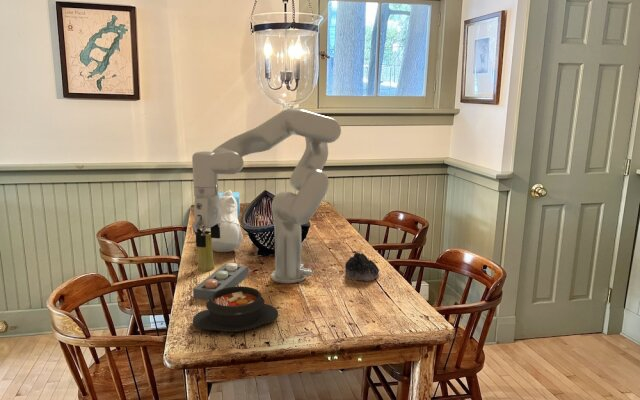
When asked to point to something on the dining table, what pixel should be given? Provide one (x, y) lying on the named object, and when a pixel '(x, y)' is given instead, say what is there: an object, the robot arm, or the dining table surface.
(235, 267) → the cream rounded piece
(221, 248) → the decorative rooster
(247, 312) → the casserole
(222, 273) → the sage button
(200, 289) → the button panel
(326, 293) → the dining table surface
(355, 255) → the crystal cluster
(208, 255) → the vase
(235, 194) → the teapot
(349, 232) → the dining table surface
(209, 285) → the terracotta button
